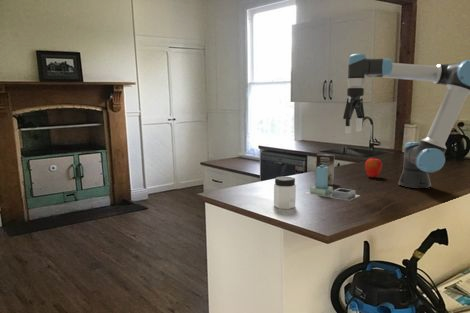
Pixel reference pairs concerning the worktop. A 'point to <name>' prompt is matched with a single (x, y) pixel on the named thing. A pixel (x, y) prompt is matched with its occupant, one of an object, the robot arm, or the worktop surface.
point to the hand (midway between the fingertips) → (353, 132)
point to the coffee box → (327, 165)
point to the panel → (334, 193)
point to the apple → (373, 167)
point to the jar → (284, 192)
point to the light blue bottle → (321, 177)
